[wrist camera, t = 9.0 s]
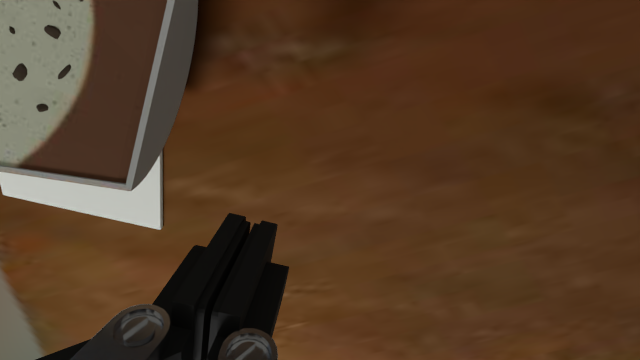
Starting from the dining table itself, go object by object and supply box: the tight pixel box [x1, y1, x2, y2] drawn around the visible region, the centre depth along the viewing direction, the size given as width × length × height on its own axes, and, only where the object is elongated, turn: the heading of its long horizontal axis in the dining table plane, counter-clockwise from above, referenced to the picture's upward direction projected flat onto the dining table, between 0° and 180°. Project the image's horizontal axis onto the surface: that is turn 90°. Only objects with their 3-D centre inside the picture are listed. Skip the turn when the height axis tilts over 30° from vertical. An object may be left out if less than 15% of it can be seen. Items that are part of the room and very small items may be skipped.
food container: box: [0, 0, 198, 191], centre depth 14 cm, size 12×6×10 cm
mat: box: [0, 151, 163, 230], centre depth 19 cm, size 10×11×1 cm
